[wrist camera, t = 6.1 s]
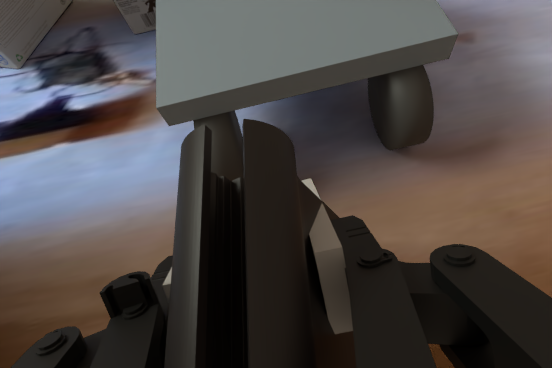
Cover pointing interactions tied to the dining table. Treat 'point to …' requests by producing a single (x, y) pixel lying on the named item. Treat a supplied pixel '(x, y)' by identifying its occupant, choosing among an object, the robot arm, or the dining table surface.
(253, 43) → the trolley
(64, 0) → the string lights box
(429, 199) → the dining table surface
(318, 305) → the phone stand
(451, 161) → the dining table surface
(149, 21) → the coffee box
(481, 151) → the dining table surface
